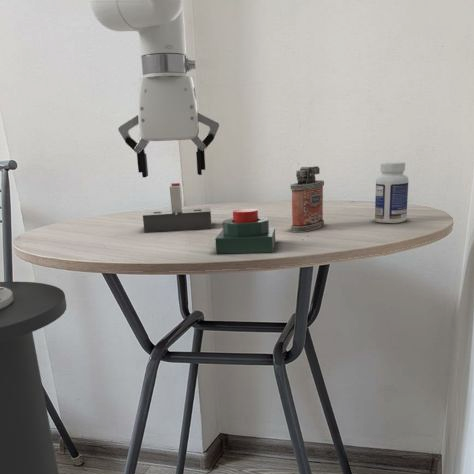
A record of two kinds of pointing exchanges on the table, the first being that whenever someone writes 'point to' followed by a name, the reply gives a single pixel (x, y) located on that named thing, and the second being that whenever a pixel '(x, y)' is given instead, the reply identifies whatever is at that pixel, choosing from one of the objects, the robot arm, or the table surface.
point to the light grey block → (176, 197)
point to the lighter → (307, 200)
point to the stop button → (245, 215)
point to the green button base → (245, 237)
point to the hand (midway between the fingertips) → (172, 175)
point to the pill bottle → (391, 193)
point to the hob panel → (177, 220)
